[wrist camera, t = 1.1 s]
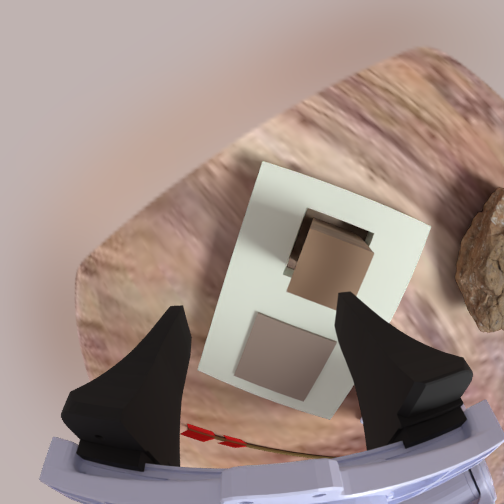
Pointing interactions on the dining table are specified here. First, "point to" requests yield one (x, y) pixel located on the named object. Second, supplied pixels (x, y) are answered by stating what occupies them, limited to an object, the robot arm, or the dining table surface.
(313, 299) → the block
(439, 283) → the dining table surface
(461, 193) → the dining table surface
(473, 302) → the rock
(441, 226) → the dining table surface
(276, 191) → the board
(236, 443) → the arrow
